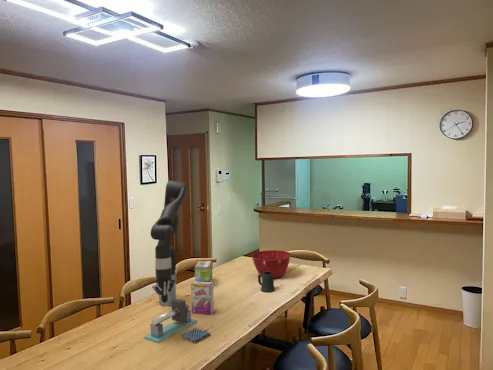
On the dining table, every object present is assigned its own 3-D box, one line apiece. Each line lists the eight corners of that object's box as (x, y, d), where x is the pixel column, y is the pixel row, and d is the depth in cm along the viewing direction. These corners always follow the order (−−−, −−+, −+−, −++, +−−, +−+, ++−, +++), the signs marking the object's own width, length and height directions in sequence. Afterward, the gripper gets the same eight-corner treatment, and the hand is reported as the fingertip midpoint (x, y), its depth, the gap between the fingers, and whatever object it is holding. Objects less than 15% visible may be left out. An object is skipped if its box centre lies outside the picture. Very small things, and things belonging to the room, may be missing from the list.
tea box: (210, 288, 236) (209, 266, 235) (194, 289, 236) (194, 266, 235) (212, 281, 251) (212, 260, 250) (198, 281, 251) (197, 260, 250)
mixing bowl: (247, 280, 250) (246, 258, 249) (257, 269, 277) (257, 249, 276) (287, 283, 242) (286, 260, 241) (294, 271, 269) (294, 250, 268)
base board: (157, 343, 164) (157, 340, 164) (144, 338, 169) (144, 336, 169) (196, 322, 185) (196, 319, 185) (184, 318, 190) (184, 316, 190)
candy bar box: (191, 313, 196) (190, 283, 196) (195, 309, 201) (194, 280, 200) (211, 315, 193) (209, 284, 193) (214, 311, 198) (213, 282, 197)
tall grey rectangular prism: (182, 322, 178) (181, 302, 177) (172, 319, 182) (171, 300, 181) (186, 320, 180) (185, 300, 180) (176, 317, 184) (175, 298, 184)
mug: (278, 289, 230) (277, 272, 229) (269, 293, 223) (268, 275, 223) (263, 285, 238) (263, 269, 237) (254, 289, 231) (253, 272, 231)
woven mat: (195, 330, 177) (195, 326, 177) (211, 336, 170) (211, 332, 170) (179, 339, 169) (179, 334, 168) (195, 345, 162) (195, 341, 162)
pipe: (158, 338, 167) (157, 320, 166) (150, 335, 169) (150, 317, 169) (191, 320, 185) (190, 304, 184) (184, 318, 187) (183, 302, 187)
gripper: (168, 262, 180) (169, 296, 181) (147, 268, 169) (148, 304, 170) (179, 264, 176) (180, 299, 177) (158, 271, 165) (159, 308, 166)
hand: (164, 301), depth 173 cm, fingers closed
